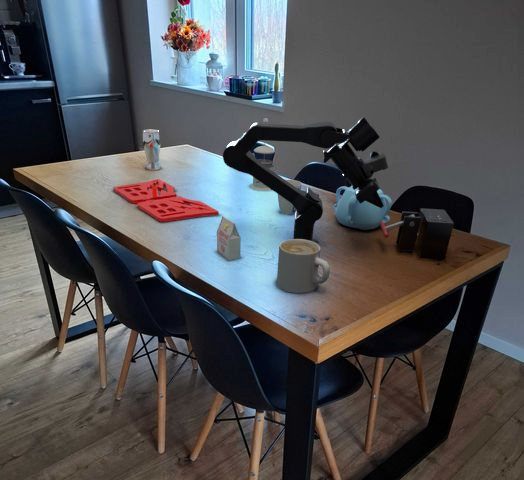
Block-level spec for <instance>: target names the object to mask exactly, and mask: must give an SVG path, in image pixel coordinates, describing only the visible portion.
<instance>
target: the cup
mask: <svg viewBox="0 0 524 480" xmlns="http://www.w3.org/2000/svg"><path fill="white" fill-rule="evenodd" d="M285 180H286V181H287V182H289V183H290V184H292V185H293V186H295V187H296V188H297V189H299V190H302V186H303V183H302V182H301V181H299V180H295V179H285ZM277 201H278V202H277V203H278V208H279V211H280V213H281V214H283V215H288V216H290V215H291V216H292V215H295V211H296V209H295V207H294V206H293V205H292V204H291V203H290V202H289V201H287V200H286V199H285V198H283V197H282V196H280V195H279V194H277Z"/></svg>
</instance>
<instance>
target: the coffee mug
mask: <svg viewBox="0 0 524 480" xmlns="http://www.w3.org/2000/svg"><path fill="white" fill-rule="evenodd" d="M278 245H279V246H278V257H277V259H278V260H277V275H276V285H277V287H278V288H279V289H280V290H282V291H285V292H287V293H292V294H307V293H311V292H313V291H314V290H315V289H316V288H317V285H321V284H324V283H325V282H327V281H328V279H329V277H330V272H331V271H330V265H329V263H328V262H327V261H326V260H325V259H322V258H321V257H320V256H321V245H319V244H318V243H317V242H312V241H309V240H304V239H293V238H291V239H286V240H285V239H284V240H282V241H281V242H280V243H279V244H278ZM320 266H321V268H322V272H323V273H322V276H320V275H319V274H320V273H319V267H320Z"/></svg>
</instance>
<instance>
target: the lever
mask: <svg viewBox="0 0 524 480" xmlns="http://www.w3.org/2000/svg"><path fill="white" fill-rule="evenodd" d="M409 216H414V214H412V215H409ZM400 221H401V220H400ZM400 221H398V222H395V223H392V224H388V225H386V224H384V222H383V221H381V222H380V229H381V232H382V235H383V237H384V238H385V239H388V238H389V237H390V235H389V232H388V231H390V230H395V229H397V228H399V227H400V226H403V221H401V222H400Z"/></svg>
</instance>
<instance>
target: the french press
mask: <svg viewBox="0 0 524 480" xmlns="http://www.w3.org/2000/svg"><path fill="white" fill-rule="evenodd" d="M262 120H263V121H262V122H263V123H264V124H267V123H269V119H268V118H267V117H265V118H263V119H262ZM275 152H276V150H275V149H274V148H272V147H271V146H268V145H266V143H264V144H263V145H261V146H260V145H259V146H257V147H256V148H254V149H253V153H252V154H253V155H254V157H255V158H256V155H255V153H256V154H261V155H263V158H260V159H257V160H258V161H259V162H260V163H262V164H263V165H265V166H266V167H267V168H269V169H270V170H272V171H273V172H275V171H274V170H275V166H274V165H273V164H274V161H273V160H271V159H265V157H266V156H265V155H272V154H275ZM250 188H251V189H252V190H255V191H264V192H268V191H269V192H270V191H272V190H271V189H270V188H269V187H267V186H266V185H264V184H263V183H261V182H260V181H258V180H257V179H256V178H254V177H253V176H252V184H251V185H250Z"/></svg>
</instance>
